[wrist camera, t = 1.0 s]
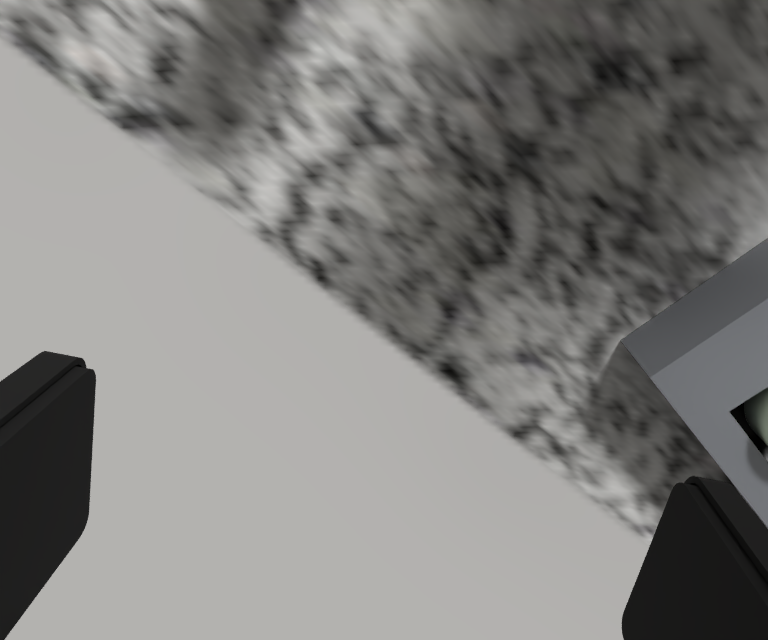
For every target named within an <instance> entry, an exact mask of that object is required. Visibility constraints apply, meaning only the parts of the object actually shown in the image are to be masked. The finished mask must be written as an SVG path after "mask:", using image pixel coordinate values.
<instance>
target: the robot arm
mask: <svg viewBox="0 0 768 640" xmlns="http://www.w3.org/2000/svg"><path fill="white" fill-rule="evenodd" d="M95 386H96V375H95V372H94V370H93V369H87V368H86V364H85V361H84V360H83V359H82V358H78V357H73V356H68V355H63V354H57V353H53V352H47V351H44V352H41V353H40V354H38V355H37V356H35V357H34V358H33V359H31V360H30V361H29V362H27V363H26V364H24V365H23V366H21V367H20V368H19V369H17V370H16V371H15V372H13V373H12V374H10V375H9V376H8V377H6V378H5V379H3V380H2V381H1V382H0V640H4V639H5V638H6V637H7V635H8V634H9V632H10V631H11V630H12V628H13V627H14V626H15V624H16V623H17V622H18V620H19V619H20V618H21V616H22V615H23V614H24V612H25V611H26V609H27V608H28V607H29V605H30V604H31V603H32V601H33V600H34V598H35V597H36V596H37V595H38V593H39V592H40V591H41V589H42V588H43V587H44V585H45V584H46V582H47V581H48V580H49V578H50V577H51V576H52V574H53V573H54V572H55V570H56V569H57V568H58V566H59V565H60V564H61V562H62V561H63V559H64V558H65V557H66V555H67V554H68V553H69V551H70V550H71V549H72V547H73V546H74V545H75V543H76V542H77V541H78V539H79V538H80V536H81V535H82V532H83V531H84V529H85V526H86V523H87V520H88V515H89V502H90V501H89V500H90V482H91V461H92V442H93V424H94V404H95ZM622 634H623V638H624V640H768V529H767V528H766V526H765V525H764V524H763V523H762V521H761V520H760V519H759V518H758V516H757V515H756V514H755V512H754V511H753V510H752V509H751V507H750V506H749V505H748V504H747V502H746V501H745V500H744V499H743V497H742V496H741V495H740V494H739V492H738V491H737V490H736V489H735V487H734V486H732V485H731V484H730V483H726V482H721V481H716V480H711V479H706V478H701V477H695V476H692V477H689V478H688V479H687V480H686V481H685V483H678V484H676V485H675V486H674V488H673V490H672V491H671V494H670V497H669V499H668V502H667V504H666V507H665V509H664V512H663V514H662V517H661V519H660V522H659V524H658V527H657V529H656V532H655V534H654V537H653V539H652V542H651V545H650V547H649V550H648V552H647V555H646V557H645V560H644V562H643V565H642V567H641V570H640V572H639V575H638V577H637V580H636V582H635V585H634V587H633V590H632V592H631V595H630V598H629V600H628V603H627V605H626V608H625V610H624V613H623V617H622Z"/></svg>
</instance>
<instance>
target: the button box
mask: <svg viewBox="0 0 768 640" xmlns="http://www.w3.org/2000/svg"><path fill="white" fill-rule="evenodd" d="M621 342H622V343H623V344H624V346H625V347H626V348H627V349H628V351H629V352H630V353H631V355H632V356H633V357H634V358H635V360H636V361H637V362H638V363H639V365H640V366H641V367H642V369H643V370H644V371H645V372H646V374H647V375H648V376H649V377H650V379H651V380H652V381H653V383H654V384H655V385H656V386H657V388H658V389H659V390H660V391H661V393H662V394H663V395H664V397H665V398H666V399H667V400H668V402H669V403H670V404H671V405H672V407H673V408H674V409H675V411H676V412H677V413H678V414H679V416H680V417H681V418H682V419H683V421H684V422H685V423H686V425H687V426H688V427H689V428H690V430H691V431H692V432H693V433H694V435H695V436H696V437H697V439H698V440H699V441H700V442H701V444H702V445H703V446H704V447H705V449H706V450H707V451H708V453H709V454H710V455H711V456H712V458H713V459H714V460H715V461H716V463H717V464H718V465H719V466H720V468H721V469H722V470H723V472H724V473H725V474H726V475H727V477H728V478H729V479H730V480H731V482H732V483H733V484H734V486H735V487H736V488H737V489H738V491H739V492H740V493H741V494H742V496H743V497H744V498H745V500H746V501H747V502H748V503H749V505H750V506H751V507H752V508H753V510H754V511H755V512H756V514H757V515H758V516H759V517H760V519H761V520H762V521H763V522H764V524H765V525H766V526H767V528H768V462H767V461H766V459H765V458H764V457H763V455H762V454H761V453H760V451H759V450H758V449H757V448H756V446H755V445H754V444H753V442H752V441H751V440H750V438H749V437H748V436H747V434H746V433H745V432H744V430H743V429H742V428H741V426H740V425H739V424H738V423H737V421H736V420H735V419H734V417H733V416H732V415H731V413H730V412H729V411H731V410H732V409H734V408H735V407H737V406H739V405H740V404H742V403H743V402H745V401H746V400H748V399H750V398H751V397H753V396H754V395H756V394H758V393H759V392H761V391H762V390H764V389H765V388H767V387H768V238H767V239H766V240H764V241H763V242H762V243H760V244H759V245H757V246H756V247H754V248H753V249H752V250H750V251H749V252H747V253H746V254H744V255H743V256H741V257H740V258H739V259H737V260H736V261H734V262H733V263H731V264H730V265H729V266H727V267H726V268H724V269H723V270H721V271H720V272H718V273H717V274H716V275H714V276H713V277H711V278H710V279H708V280H707V281H705V282H704V283H703V284H701V285H700V286H698V287H697V288H695V289H694V290H693V291H691V292H690V293H688V294H687V295H685V296H684V297H682V298H681V299H680V300H678V301H677V302H675V303H674V304H672V305H671V306H670V307H668V308H667V309H665V310H664V311H662V312H661V313H659V314H658V315H657V316H655V317H654V318H652V319H651V320H649V321H648V322H647V323H645V324H644V325H642V326H641V327H639V328H638V329H636V330H635V331H634V332H632V333H631V334H629V335H628V336H626V337H625V338H623V339H622V340H621Z"/></svg>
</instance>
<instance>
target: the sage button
mask: <svg viewBox="0 0 768 640" xmlns="http://www.w3.org/2000/svg"><path fill="white" fill-rule="evenodd" d="M744 413H745V417H746V420H747V423H748V424H749V426H750V428H751V429H752V430H753V431H754V432H755V433H756V434H757V435H758V436H759V437H760V438H761V439H762V440H763V441H764V443H765V444H766V445H767V446H768V387H767V388H765V389H764V390H762V391H761V392H759V393H758V394H756V395H754V396H753V397H751V398H750V399H748V400H746V401H745V402H744Z"/></svg>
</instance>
